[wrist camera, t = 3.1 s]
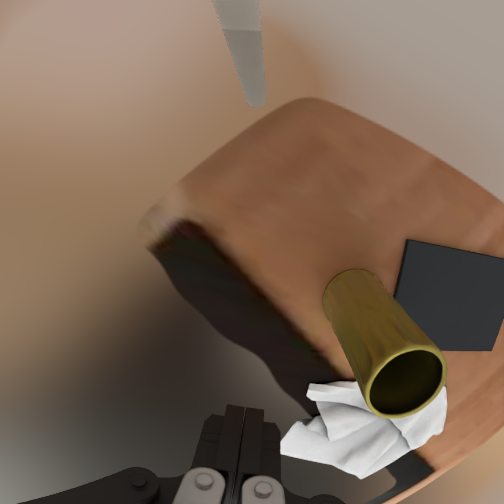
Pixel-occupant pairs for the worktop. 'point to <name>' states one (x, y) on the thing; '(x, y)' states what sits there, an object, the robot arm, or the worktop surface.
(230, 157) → the worktop surface
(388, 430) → the cloth
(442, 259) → the mat
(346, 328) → the vase
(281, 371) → the worktop surface
